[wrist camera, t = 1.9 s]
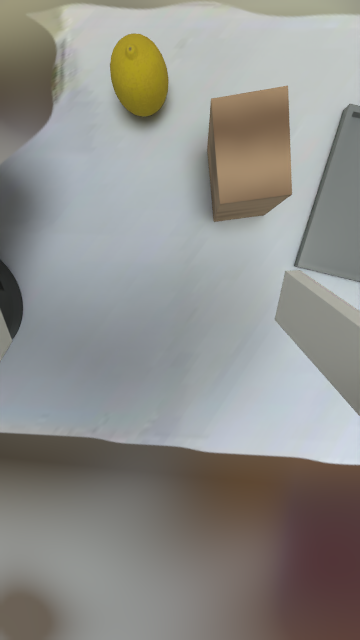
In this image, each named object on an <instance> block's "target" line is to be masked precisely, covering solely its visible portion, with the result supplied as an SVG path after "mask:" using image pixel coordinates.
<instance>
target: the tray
mask: <svg viewBox="0 0 360 640" xmlns="http://www.w3.org/2000/svg"><path fill="white" fill-rule="evenodd" d="M294 266H296V267H300V268H305V269H309V270H313V271H317V272H321V273H325V274H330V275H334V276H338V277H342V278H346V279H350V280H354V281H359V282H360V106H358V105H353V104H349V105H348V106H347V107H346V108H345V109H344V111H343V114H342V118H341V121H340V124H339V127H338V130H337V133H336V136H335V140H334V143H333V146H332V149H331V152H330V155H329V158H328V161H327V165H326V168H325V171H324V174H323V177H322V180H321V183H320V187H319V190H318V193H317V196H316V199H315V202H314V205H313V208H312V212H311V215H310V218H309V221H308V224H307V227H306V230H305V234H304V237H303V240H302V243H301V246H300V249H299V252H298V255H297V259H296V262H295V265H294Z"/></svg>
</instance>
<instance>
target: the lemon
mask: <svg viewBox="0 0 360 640" xmlns="http://www.w3.org/2000/svg"><path fill="white" fill-rule="evenodd" d="M110 71H111V80H112V84H113V87H114V90H115V93H116V95H117V97H118V99H119V100H120V102H121V103H122V105H123V106H124V107H125V108H126V109H127V110H128V111H129V112H131V113H133V114H134V115H138V116H150V115H153V114H154V113H156V112H157V111H158V110H159V109H160V108H161V107H162V105H163V103H164V101H165V99H166V95H167V92H168V73H167V68H166V64H165V62H164V59H163V57H162V54H161V53H160V51H159V49H158V48H157V47H156V45H155V44H154V43H153V42H152V41H151V40H150V39H149V38H147V37H145V36H143V35H141V34H129V35H126V36H125V37H123V38H122V39H121V40H119V41H118V43H117V44H116V46H115V48H114V50H113V53H112V56H111V63H110Z"/></svg>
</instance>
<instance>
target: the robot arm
mask: <svg viewBox="0 0 360 640" xmlns="http://www.w3.org/2000/svg"><path fill="white" fill-rule="evenodd" d="M21 318H22V299H21V294H20V290H19V287H18V285H17V283H16V280H15V279H14V277H13V275H12V273H11V272H10V271H9V269H8V268H7V267H6V266H5V265H4V263H3V262H2V261H1V260H0V361H1V360H2V358H3V356H4V355H5V353H6V351H7V350H8V348H9V346H10V345H11V343H12V338H13V337H14V336H15V334H16V332H17V330H18V328H19V326H20V322H21ZM275 321H276V322H277V323H278V324H279V325H280V326H281V327H282V329H283V330H284V331H285V332H286V333H287V334H288V335H289V336H290V338H291V339H292V340H293V341H294V342H295V343H296V344H297V346H298V347H299V348H300V349H301V350H302V351H303V352H304V353H305V355H306V356H307V357H308V358H309V359H310V360H311V361H312V363H313V364H314V365H315V366H316V367H317V368H318V369H319V370H320V372H321V373H322V374H323V375H324V376H325V377H326V378H327V380H328V381H329V382H330V383H331V384H332V385H333V386H334V388H335V389H336V390H337V391H338V392H339V393H340V394H341V395H342V397H343V398H344V399H345V400H346V401H347V402H348V403H349V405H350V406H351V407H352V408H353V409H354V410H355V411H356V412H357V414H358V415H359V416H360V311H359V310H357V309H356V308H354V307H353V306H351V305H350V304H348V303H347V302H346V301H344V300H343V299H341V298H340V297H338V296H337V295H335V294H334V293H332V292H331V291H329V290H328V289H327V288H325V287H324V286H322V285H321V284H319V283H318V282H316V281H315V280H313V279H312V278H310V277H309V276H308V275H306V274H305V273H303V272H302V271H300V270H296V271H285V275H284V279H283V284H282V288H281V293H280V298H279V302H278V307H277V311H276V316H275Z"/></svg>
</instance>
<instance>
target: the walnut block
mask: <svg viewBox="0 0 360 640" xmlns="http://www.w3.org/2000/svg"><path fill="white" fill-rule="evenodd" d="M207 152H208V164H209V175H210V186H211V197H212V209H213V220H214V222H216V221H224V220H231V219H239V218H247V217H254V216H262V215H265V214H266V213H268V212H269V211H270V210H272V209H273V208H274V207H276V206H277V205H278V204H280V203H281V202H282V201H284V200H285V199H286V198H288V197H289V196H290V195H292V183H291V156H290V128H289V101H288V86H283V87H277V88H272V89H266V90H260V91H254V92H248V93H242V94H236V95H231V96H225V97H219V98H213V99H211V107H210V120H209V133H208V146H207Z"/></svg>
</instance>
